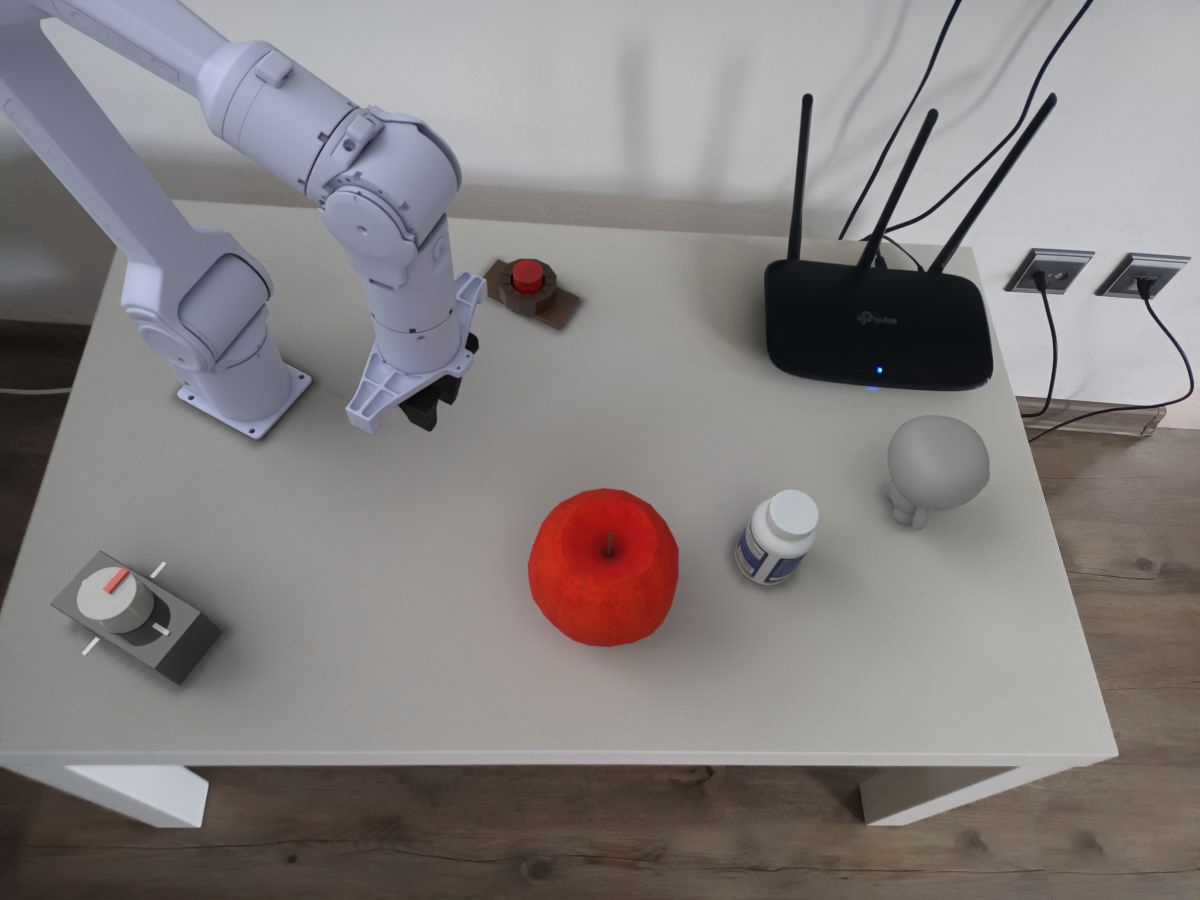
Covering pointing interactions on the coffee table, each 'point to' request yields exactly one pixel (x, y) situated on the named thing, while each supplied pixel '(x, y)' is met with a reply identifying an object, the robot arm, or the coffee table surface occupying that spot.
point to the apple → (604, 568)
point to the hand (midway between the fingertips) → (432, 410)
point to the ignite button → (527, 276)
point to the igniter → (541, 305)
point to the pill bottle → (777, 537)
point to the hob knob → (115, 600)
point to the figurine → (934, 467)
